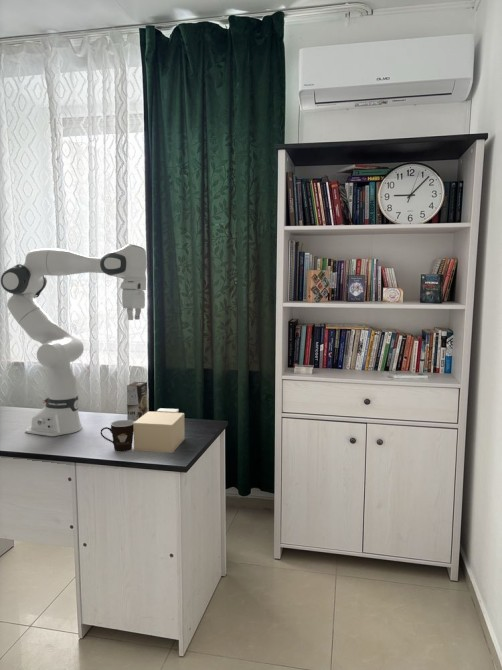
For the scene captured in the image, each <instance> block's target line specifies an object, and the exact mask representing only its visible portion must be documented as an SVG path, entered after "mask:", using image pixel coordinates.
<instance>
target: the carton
mask: <svg viewBox="0 0 502 670" xmlns="http://www.w3.org/2000/svg"><path fill="white" fill-rule="evenodd" d="M133 430H134V431H133V451H137V452H138V451H141V452H155V453H174V452H175V450H176V449H177V448H178V447H179V446H180V445H181V444H182V442H184V441H185V438H186V437H185V434H186V433H185V432H186V431H185V430H186V429H185V414H184V415H183V416H182V417H181V418H180V419H179V420H178V421H177V422H176V423H175V424H174V425H173V426H155V425H136V424H133Z"/></svg>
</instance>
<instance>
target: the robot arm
mask: <svg viewBox="0 0 502 670" xmlns="http://www.w3.org/2000/svg"><path fill="white" fill-rule="evenodd" d="M147 262H148V261H147V251H146V249H145V248H144V247H143V246H140V245H136V244H131V243H128V244H126V245H125V246H124V247H122V248H120V249H117V250H114V251H111V252H107V253H104V254H103V255H102V256H101V257H91V256H86V255H82V254H80V253H77V252H74V251H70V250H66V249H61V248H38V249H36V248H35V249H32V250H29V252H28V253H27V254H26V255H25V261H24V264H22V263H18V264H16V265H14V266H12V267H11V268H8V269H6V270H5V271H4V272H3V273H2V275H1V276H0V284H1V287H2V288H3V290H4V291H6V292H7V293H9V294H12V295H11V296H10V297H9V299H8V300H7V304H6V307H7V309H8V310H9V312H10V314H11V316H12V317H13V319H14V321H16V322H17V324H18V325H19V326H20V327H21V328H22V329H23V331H24V332H25V333H26V334H27V335H28V336H29V337H30V338H31V339H32V340H33V341H36V342H38V343H40V344H41V345H40V346H39V347H38V349H37V351H36V359H37V362H38V363H39V364H40V365H41V366H42V367H43V368H44V372H45V374H46V377H47V378H46V379H47V385H48V397H47V398H45V399H44V400H43V401H42V403H43V404H45V406H43V408H41V409H40V410H38V412H36V413H35V414H34V415H33V416H32V419H31V423H30V424H31V425H29V426H27V427H26V429H25V433H28V434H32V435H33V434H34V435H41V436H49V437H56V436H57V437H58V436H61V435H68V434H69V435H70V434H72V433H76V432H79V431H80V430H82V429H83V426H82V422H81V419H80V414H79V395H78V389H77V388H78V383H77V377H76V376H75V375H74V373H73V372H72V368H71V363H72V362H75V361H76V360H78V359H79V358H80V357H81V356H82V355H83V353H84V344H83V342H82V341H81V340H80V338H79V337H76V336H74V335H71V334H70V333H69V332H67V331H66V330H65V329H63V328H62V327H61V326H60V325H59V324H57V323H56V322H55V321H54V320H53V319H52V318H51V317H50V316H49V315H48V314H47V313H46V311H45V310H44V309H43V308H42V307H41V305H40V304H39V303H38V302H37V300H36V298H38V297H40V295H41V294H42V292H43V290H44V289H45V288H46V286H47V283H48V279H47V276H53V277H54V276H55V277H59V276H60V277H61V276H70V275H77V274H78V275H79V274H84V273H85V274H86V273H92V274H93V273H94V274H95V273H96V274H98V273H99V274H105V275H107V276H109V277H115V278H119V279H123V281H122V282H121V284H120V289H121V290H122V291H121V300H122V301H121V302H122V303H121V304H122V307H123V309H126V313H127V320H128V321H134V320H137V321H138V320H141V319H140V317H141V313H142V309H145V306H146V296H145V291H147V276H146V275H147V274H146V271H147V266H148V263H147ZM134 311H135V313H134Z"/></svg>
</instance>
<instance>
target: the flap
mask: <svg viewBox="0 0 502 670" xmlns="http://www.w3.org/2000/svg"><path fill="white" fill-rule="evenodd" d="M179 411H180V410H179V408H161V407H160V408H158V409H157V410H156V411H148V412H147V413H146V414H144V415H143V416H142V417H140V418H139V419H138V420H136V421H133V422H134V423H133V424H136V425H155V426H173V425H174V424H175V423H176V422H177V421H178V420H179V419H180V418H181V417H182V416H183V415H184V416H185V413H184V412H179Z"/></svg>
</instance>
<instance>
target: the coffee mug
mask: <svg viewBox="0 0 502 670" xmlns="http://www.w3.org/2000/svg"><path fill="white" fill-rule="evenodd" d="M134 422H135V421H133V420H127V419H120V420H115V421H112V422H110V427H107V426H105V427H103V428H101V430H100V436H101V437H102V438H104V440H107V441H109V443H111V444H112V445H113V448H114V449H113V450H114V451H115V452H118V453H124V452H129V451H131V450H132V448H133V442H134V430H133V423H134ZM104 430H108V431H109V432H110V433H111V435H112V440H111V439H110V438H108V437H106V436H104V435H103V431H104Z"/></svg>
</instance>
